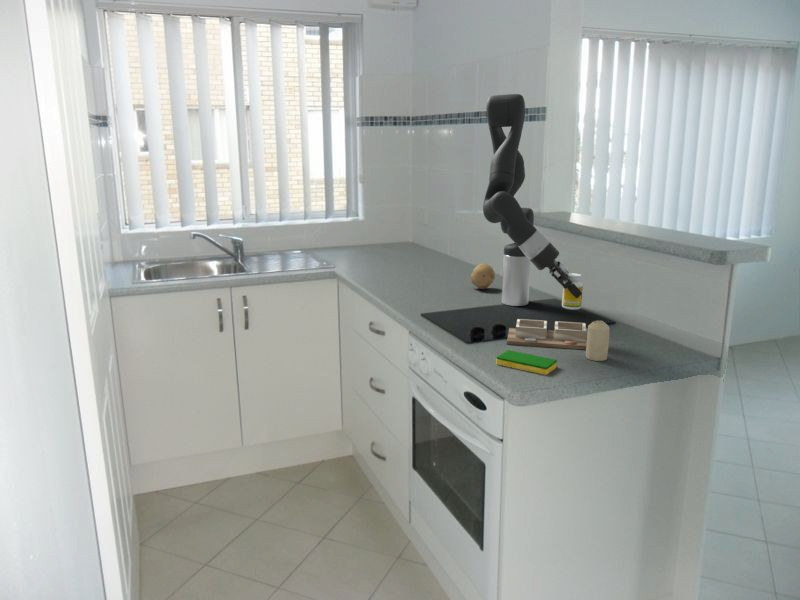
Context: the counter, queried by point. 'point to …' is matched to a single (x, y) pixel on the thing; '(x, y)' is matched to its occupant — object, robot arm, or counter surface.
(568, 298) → the supplement bottle
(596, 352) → the candle
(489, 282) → the potato
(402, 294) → the counter surface
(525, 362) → the dish sponge
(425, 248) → the counter surface
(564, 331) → the socket board
